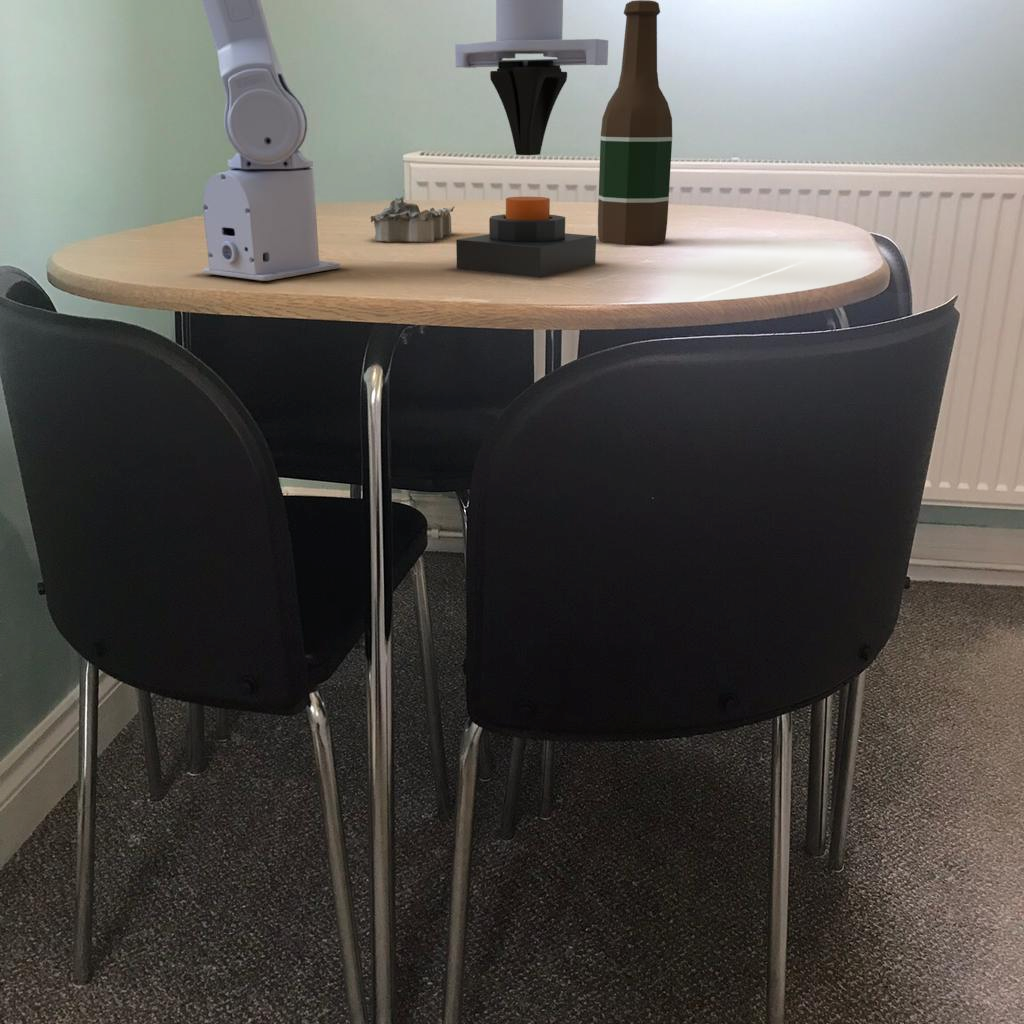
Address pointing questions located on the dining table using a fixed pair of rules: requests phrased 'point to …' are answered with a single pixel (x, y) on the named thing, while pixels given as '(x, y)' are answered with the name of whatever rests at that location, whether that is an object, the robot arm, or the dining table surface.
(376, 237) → the egg carton
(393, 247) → the dining table surface
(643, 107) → the beer bottle
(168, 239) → the dining table surface
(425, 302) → the dining table surface
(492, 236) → the button base
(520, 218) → the switch
